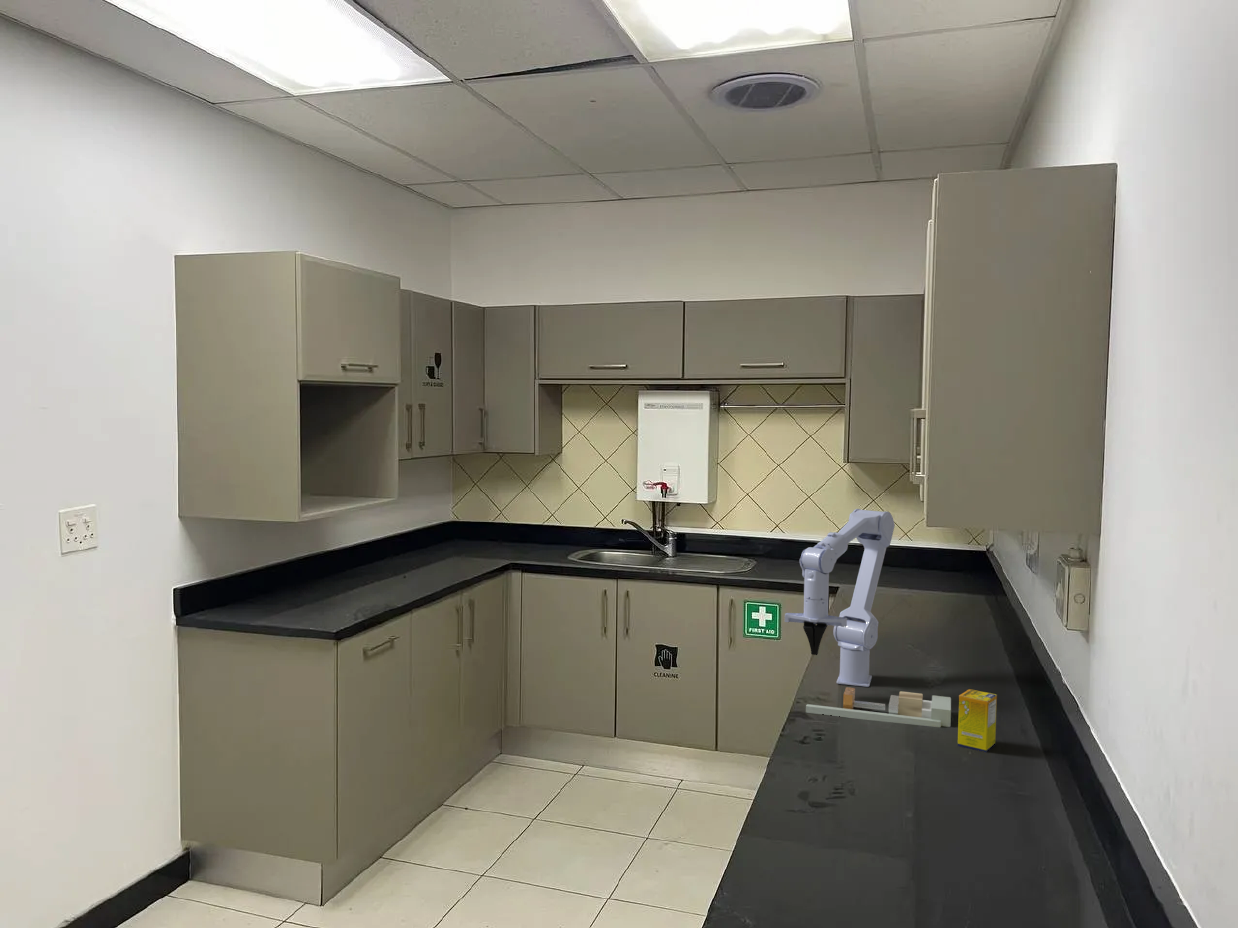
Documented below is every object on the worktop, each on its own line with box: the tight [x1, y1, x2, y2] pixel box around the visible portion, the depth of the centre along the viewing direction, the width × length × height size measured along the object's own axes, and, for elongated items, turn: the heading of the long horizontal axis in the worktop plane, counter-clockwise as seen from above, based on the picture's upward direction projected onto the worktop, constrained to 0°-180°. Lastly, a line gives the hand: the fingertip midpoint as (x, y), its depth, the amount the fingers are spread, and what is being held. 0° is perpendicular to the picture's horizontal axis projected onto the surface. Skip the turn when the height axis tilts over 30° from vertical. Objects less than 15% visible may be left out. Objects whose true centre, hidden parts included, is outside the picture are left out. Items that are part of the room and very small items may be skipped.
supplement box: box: [957, 688, 998, 753], centre depth 189 cm, size 6×6×11 cm
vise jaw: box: [842, 686, 899, 715], centre depth 211 cm, size 8×12×4 cm, turn 70°
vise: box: [805, 695, 952, 728], centre depth 210 cm, size 11×31×4 cm, turn 70°
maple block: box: [898, 691, 924, 718], centre depth 208 cm, size 5×5×5 cm
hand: (814, 653), depth 222 cm, fingers closed
